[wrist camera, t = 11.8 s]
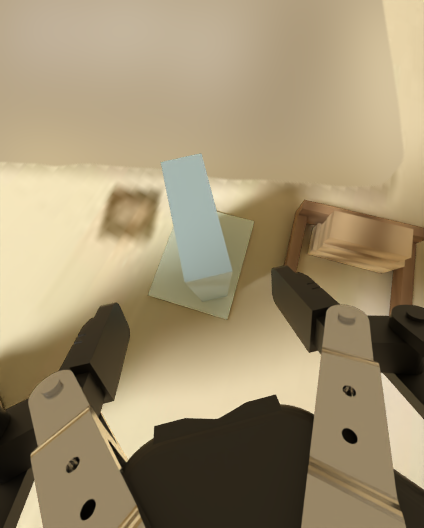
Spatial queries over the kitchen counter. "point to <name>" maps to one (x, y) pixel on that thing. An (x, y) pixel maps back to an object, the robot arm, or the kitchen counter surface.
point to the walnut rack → (320, 212)
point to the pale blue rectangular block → (197, 228)
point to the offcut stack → (361, 242)
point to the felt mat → (171, 275)
